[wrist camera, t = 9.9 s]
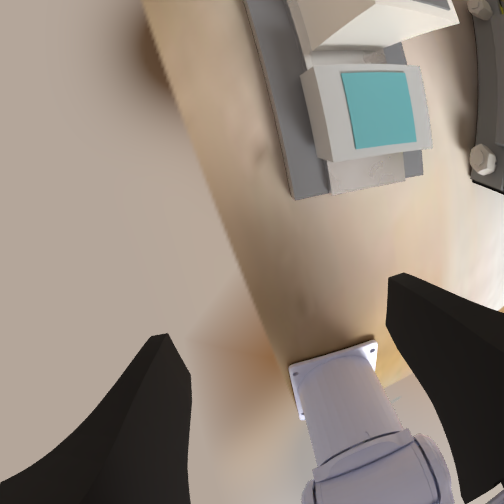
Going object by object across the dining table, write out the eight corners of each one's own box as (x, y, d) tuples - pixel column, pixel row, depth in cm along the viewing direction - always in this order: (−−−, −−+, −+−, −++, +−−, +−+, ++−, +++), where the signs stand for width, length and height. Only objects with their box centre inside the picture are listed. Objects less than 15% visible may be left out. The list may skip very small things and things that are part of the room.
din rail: (400, 178, 15) (405, 180, 15) (328, 193, 15) (332, 195, 15) (318, -87, 7) (320, -91, 6) (246, -88, 7) (247, -93, 6)
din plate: (414, 171, 16) (423, 174, 15) (291, 196, 16) (295, 200, 15) (339, -77, 7) (343, -83, 7) (216, -77, 8) (215, -85, 7)
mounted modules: (408, 143, 14) (434, 148, 12) (317, 157, 14) (334, 162, 12) (338, -73, 7) (351, -90, 5) (247, -76, 7) (250, -98, 5)
